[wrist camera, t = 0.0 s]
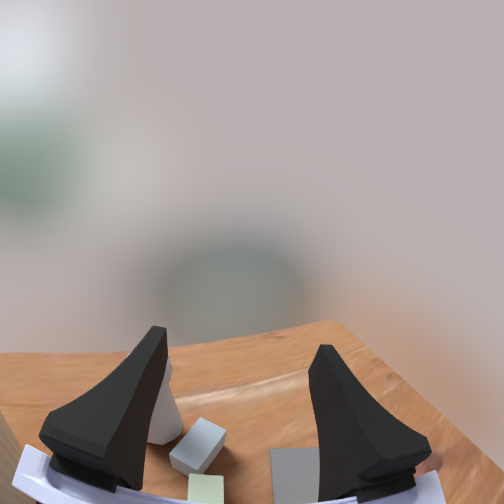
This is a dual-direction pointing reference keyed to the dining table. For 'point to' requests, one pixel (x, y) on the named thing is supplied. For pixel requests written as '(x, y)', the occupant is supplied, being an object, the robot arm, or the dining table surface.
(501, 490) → the dining table surface
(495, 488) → the dining table surface
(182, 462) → the slate brick
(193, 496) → the green brick
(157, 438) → the salt shaker
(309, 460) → the felt mat
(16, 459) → the canister
